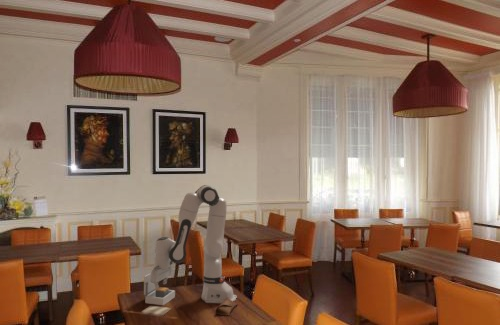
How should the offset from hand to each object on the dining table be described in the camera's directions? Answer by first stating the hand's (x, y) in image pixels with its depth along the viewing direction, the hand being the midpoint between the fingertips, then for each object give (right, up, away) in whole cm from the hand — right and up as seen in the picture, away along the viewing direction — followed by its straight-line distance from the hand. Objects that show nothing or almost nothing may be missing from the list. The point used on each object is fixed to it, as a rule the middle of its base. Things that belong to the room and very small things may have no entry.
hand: (160, 286), depth 239 cm
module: (+1, -9, 0) cm, 9 cm away
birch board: (+1, -10, -16) cm, 18 cm away
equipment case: (0, -10, 0) cm, 10 cm away
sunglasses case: (+41, -10, -11) cm, 44 cm away
